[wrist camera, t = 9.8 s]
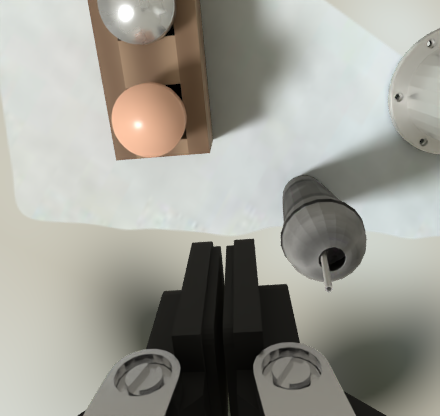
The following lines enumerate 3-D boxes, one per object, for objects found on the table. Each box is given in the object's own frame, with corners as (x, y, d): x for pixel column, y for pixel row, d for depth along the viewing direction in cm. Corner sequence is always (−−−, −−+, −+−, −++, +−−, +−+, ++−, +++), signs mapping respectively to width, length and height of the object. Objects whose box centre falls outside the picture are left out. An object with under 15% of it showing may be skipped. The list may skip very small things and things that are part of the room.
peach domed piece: (189, 74, 40) (179, 80, 33) (195, 136, 43) (188, 154, 36) (127, 80, 41) (105, 87, 34) (137, 141, 43) (118, 160, 36)
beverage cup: (328, 227, 49) (386, 340, 30) (266, 220, 49) (284, 329, 30) (342, 167, 46) (414, 249, 27) (275, 159, 46) (302, 236, 27)
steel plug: (180, -28, 39) (167, -45, 32) (187, 41, 41) (177, 40, 34) (116, -22, 39) (90, -36, 32) (127, 47, 41) (104, 47, 34)
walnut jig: (196, -40, 39) (189, -55, 34) (213, 139, 45) (209, 152, 40) (101, -30, 40) (80, -43, 34) (130, 146, 46) (116, 160, 40)
